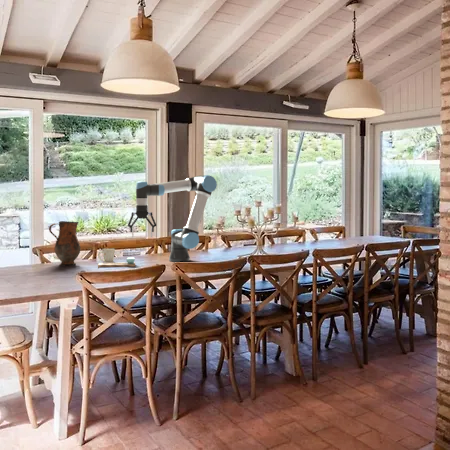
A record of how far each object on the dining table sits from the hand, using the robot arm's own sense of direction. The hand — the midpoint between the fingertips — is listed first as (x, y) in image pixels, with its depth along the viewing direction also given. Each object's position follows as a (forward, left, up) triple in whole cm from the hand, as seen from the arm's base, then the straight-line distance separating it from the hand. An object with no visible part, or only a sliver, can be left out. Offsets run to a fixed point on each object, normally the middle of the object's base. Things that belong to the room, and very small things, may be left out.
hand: (142, 237), depth 339 cm
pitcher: (+53, -13, -20) cm, 58 cm away
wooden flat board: (+17, 0, -20) cm, 26 cm away
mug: (+26, -19, -20) cm, 38 cm away
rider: (+8, 0, -19) cm, 21 cm away
